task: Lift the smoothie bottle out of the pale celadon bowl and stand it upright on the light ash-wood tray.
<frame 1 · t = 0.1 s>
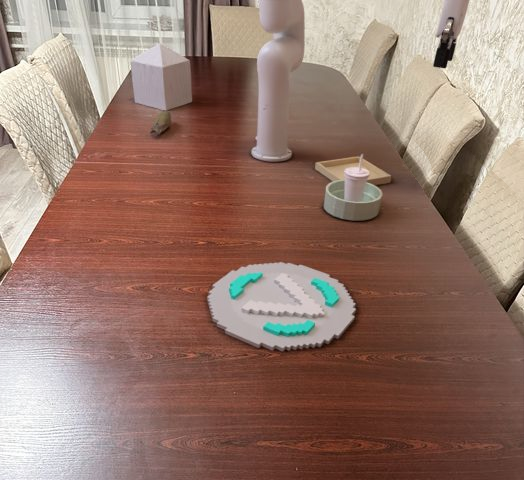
hand: (442, 63, 131), 31 cm above the table, tool pointing down, fingers open, 9 cm apart
smoothie: (350, 208, 136), resting on bowl
decorative block: (163, 102, 203), on the table
bowl: (350, 209, 136), on the table
grey pixelated disc: (281, 304, 102), on the table
tray: (351, 175, 154), on the table
decorative bird model: (162, 131, 177), on the table
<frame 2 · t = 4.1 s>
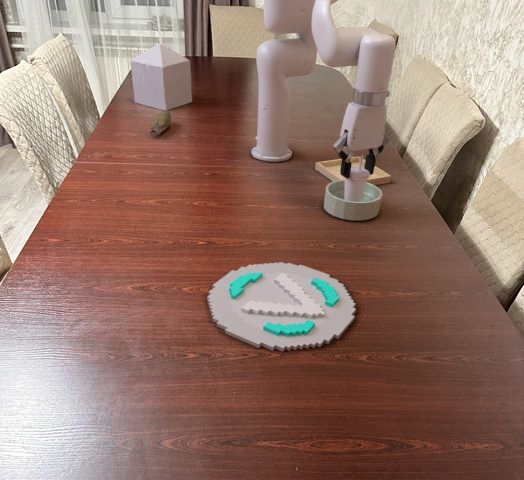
hand: (356, 174, 130), 9 cm above the table, tool pointing down, fingers closed on smoothie, 6 cm apart
smoothie: (350, 208, 136), resting on bowl, touching gripper
everything else where it was.
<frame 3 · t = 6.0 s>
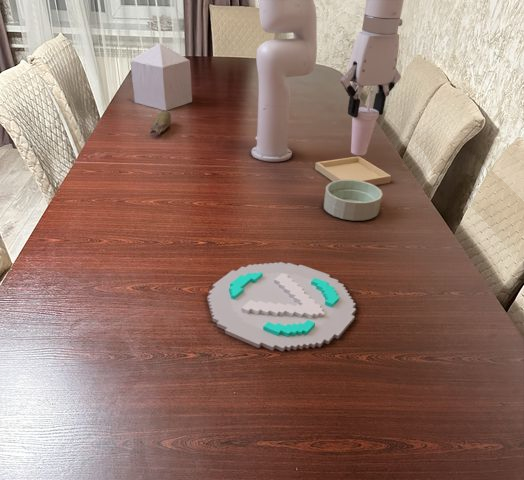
hand: (365, 113, 122), 23 cm above the table, tool pointing down, fingers closed on smoothie, 6 cm apart
smoothie: (358, 153, 128), point 14 cm above the table, touching gripper
everything else where it was.
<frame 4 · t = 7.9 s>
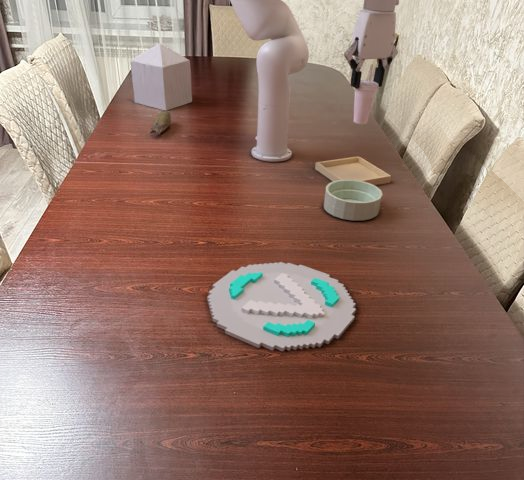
hand: (366, 85, 136), 25 cm above the table, tool pointing down, fingers closed on smoothie, 6 cm apart
smoothie: (360, 122, 142), point 16 cm above the table, touching gripper
everything else where it was.
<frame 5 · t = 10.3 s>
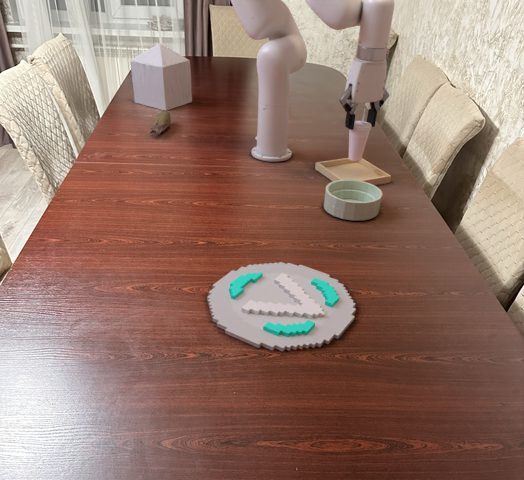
hand: (359, 126, 145), 14 cm above the table, tool pointing down, fingers closed on smoothie, 6 cm apart
smoothie: (354, 159, 151), point 5 cm above the table, touching gripper
everything else where it was.
when the fingers open (10 cm above the table, at t = 11.9 s): smoothie stays where it is, resting on tray.
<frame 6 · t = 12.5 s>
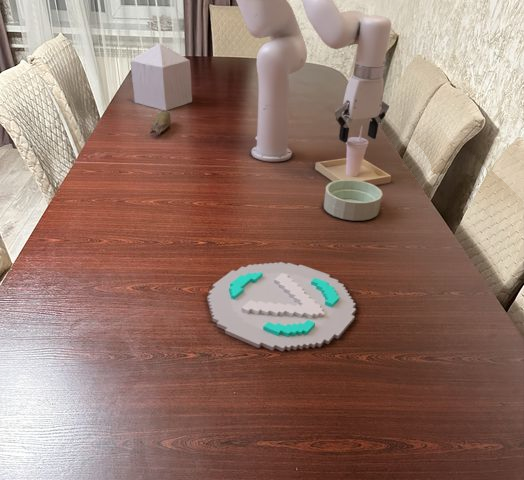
hand: (357, 139, 147), 11 cm above the table, tool pointing down, fingers open, 9 cm apart
smoothie: (352, 174, 154), resting on tray
everything else where it was.
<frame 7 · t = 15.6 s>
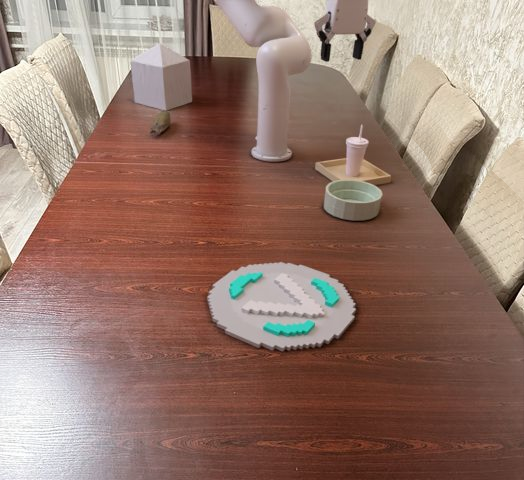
hand: (341, 59, 134), 30 cm above the table, tool pointing down, fingers open, 9 cm apart
nothing on the table moved.
at the end: smoothie inside the target area in the tray (0.0 cm from its centre), point 0.3 cm above the tray's base; smoothie tilted 0°; smoothie touching tray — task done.
